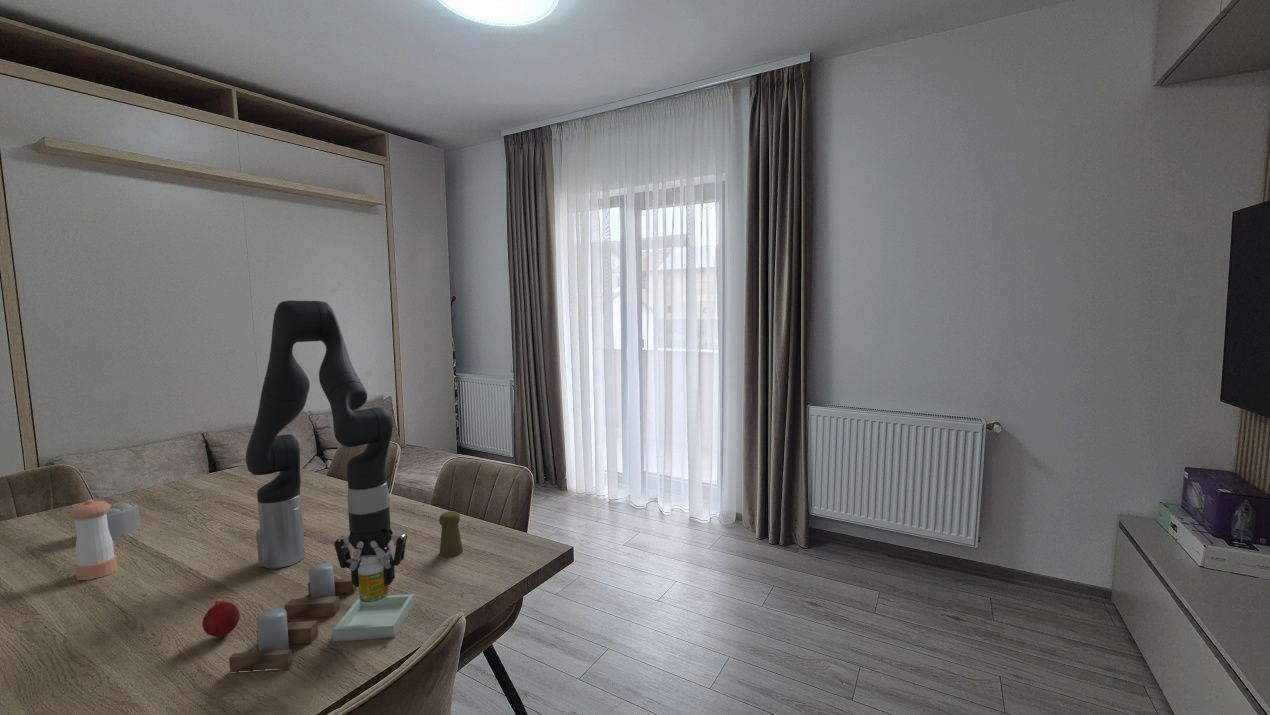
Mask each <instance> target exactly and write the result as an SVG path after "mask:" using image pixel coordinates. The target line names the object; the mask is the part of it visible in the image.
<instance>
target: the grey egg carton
mask: <svg viewBox="0 0 1270 715" xmlns="http://www.w3.org/2000/svg"><path fill="white" fill-rule="evenodd" d="M108 504H109V505H110V510H109V512H108V513H106V514H107V522H108V529H109V532H110V535H111V538H113V539H115V538H114V537H116V538H120V537H122V536H121V535H123V536H126V535H129V534H131V533H133V532H136V531H137V530H139V529H140V528H141V521H140V511H139V510H140V509H139V505H138V503H133V502H131V503H128V502H125V501H118V502H115V503H113V504H110V503H108ZM74 522H75V521H74ZM75 524H76V522H75ZM138 528H139V529H138ZM136 529H137V530H136ZM132 531H133V532H132ZM130 532H131V533H130ZM128 533H129V534H128ZM125 534H126V535H125ZM119 536H120V537H119Z"/></svg>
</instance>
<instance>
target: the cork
mask: <svg viewBox="0 0 1270 715" xmlns="http://www.w3.org/2000/svg"><path fill="white" fill-rule="evenodd" d="M460 519H461V516H460V514H459V512H457V511H454V510H450V511H446V512H444V513H442V514H440V516H439V525H440V526H441V531H440V532H441V534H440V544H439V554H438V555H439V556H440V557H442V558H445V559H446V558H454V557H455V558H456V557H458V556H459V555H461V554H462V553H463V552H464V548H463V543H462V542H463V541H462V538H461V537H462V536H461V533H460V528H459V523H460V522H461V521H460ZM457 555H458V556H457Z"/></svg>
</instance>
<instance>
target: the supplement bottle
mask: <svg viewBox="0 0 1270 715" xmlns="http://www.w3.org/2000/svg"><path fill="white" fill-rule="evenodd" d="M384 569H385V566H384V565H383V563H382V561H381V560H379V558H378V556H377V555H371V554H369V555H366V556H362V555H361V564H360V566H359V568H358V579H359V587H358V590H359V594H358V595H359V597H360V602H361V603H362V604H366V605H371V604H376V603H379V602H381V601H383V600H384V599H386V598H387V597H388V596H389V595H390V592H389V590H390V589H389V586H385V579H384Z"/></svg>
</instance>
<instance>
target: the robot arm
mask: <svg viewBox="0 0 1270 715" xmlns="http://www.w3.org/2000/svg"><path fill="white" fill-rule="evenodd" d="M272 320H273V322H272V329H271V330H272V331H271V340H270V342H271V343H270V349H269V350H270V351H269V352H270V353H269V358H268V363H267V366H266V367H267V369H266V372H265V376H264V380H263V384H262V388H261V393H260V399H259V406H258V410H257V411H258V412H257V415H256V420H255V424H254V427H253V430H252V432H251V435H250V438H249V441H248V445H247V448H246V453H245V465H246V468H247V470H248V472H250V474H251V475H254V476H265V475H271V474H274V473H279V474H277V476H276V477H274V479H272V480H271V481H269V482H268V483H265V484H264V485H262V486H260V487H259V488H258V490H257V492H256V496H257V498H256V499H257V510H258V519H259V520H258V521H259V522H258V523H259V528H258V529H257V530H256V531H255V534H256V535H255V536H256V537H255V538H256V549H257V558H258V559H257V561H258V567H263V568H266V569H281V568H286V567H288V566H289V567H290V566H293V565H294V564H297V563H299V562H301V561H302V560H303V559H304V558H305V557H306V552H305V551H306V550H305V539H304V538H305V536H304V525H303V524H304V523H303V522H304V521H303V511H302V498H301V497H302V495H301V482H302V481H301V479H302V478H301V450H300V449H301V448H300V445H299V441H298V438H297V437H296V436H294V434H289V433H287V434H282V435H279V433H281V432H282V430H283V429H284V428H286V427H287V426H288V425H289V424H291V423H292V422H293V420H294V419H296V418H297V417H298V415H300V413H301V412H302V411H303V410H304V408H305V405H306V402H307V399H308V394H309V391H310V386H311V385H310V384H311V383H310V379H309V378H308V376H307V373H306V372H305V371H304V369H303V368H302V367H301V365H300V364H299V362H298V361H297V360H296V358H295V356H294V354H293V348H294V346H295V344H296V343H304V342H305V343H307V342H320V341H321V342H322V343H323V344H324V346H325V348H326V350H325V354H324V356H323V360H322V362H321V364H320V367H319V371H318V380H319V384H320V387H321V389H322V391H323V393H324V395H325V397H326V399H327V401H328V403H329V405H330V408H331V415H332V420H333V421H332V422H333V433H334V438H335V440H336V441H337V442H338V443H339V444H340V445H341V446H343V447H346V448H354V447H359V446H364V445H367V446H366V449H365V450H364V451H363V452H361V453H360V454H356V455H355V456H353V457H351V458H350V459H349V460H347V463H346V476H347V512H348V513H347V515H348V524H349V525H348V526H349V527H348V528H349V532H350V533H349V535H348V536H345V535H341V536H339V537H338V538H337V539H336V540H335V541H334V542H333V545H334V546H333V547H334V548H335V552H336V553H335V554H336V555H337V559H338V562H339V566H340V568H342V569H349V571H350V577H351V578H350V579H352V584H353V585H354V586H355V587H356V588H359V579H358V568H359V566H360V565H361V564H362V562H361V555H362V556H366V555H369V554H371V555H377V556H378V558H379V560H381V561H382V563H383V565H384V566H385V569H384V579H385V586H388V587H389V586H390V585H391V584H392V583H393V581H394V580H395V577H396V575H395V574H396V573H395V572H396V571H395V566H399V565H400V564H401V562H402V561H403V560H404V558H405V554H406V553H405V552H406V546H407V538H408V534H407V533H405V532H403V533H401V534H397V533H394V532H393V531H392V528H391V512H390V511H391V510H390V508H391V507H390V500H391V499H390V494H389V486H388V482H387V481H388V480H387V467H386V466H387V465H386V462H387V457H388V454H389V453H388V451H389V447H390V443H391V440H392V436H393V430H394V422H393V418H392V416H391V414H390V412H389V411H388V410H387V409H386V408H383V407H379V406H378V407H370V408H365V409H360V408H361V407H363V406H364V405H366V402H367V400H368V393H367V391H366V388H365V386H364V385H363V383H362V381H361V378H359V375H358V374H357V372H356V370H355V367H354V366H353V364H352V362H351V359H350V356H349V354H348V349H347V345H346V343H345V339H344V337H343V333H342V331H341V328H340V324H339V321H338V318H337V316H336V313H335V311H334V310H333V308H332V307H331V305H330V304H329V303H328V302H326V301H322V300H321V301H319V300H284V301H281V302H279V303H278V305H277V306H276V308H275V311H274V315H273V319H272ZM358 409H359V410H358ZM391 541H392V542H393V545H394V547H395V549H394V555H393V553H392V552H393V551H392V549H391V547H390V545H389V544H390V542H391ZM349 545H351V546H352V547H353V548H354V549H355V550H354V552H353V554H352V556H351V552H350V549H349V547H350V546H349Z"/></svg>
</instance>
